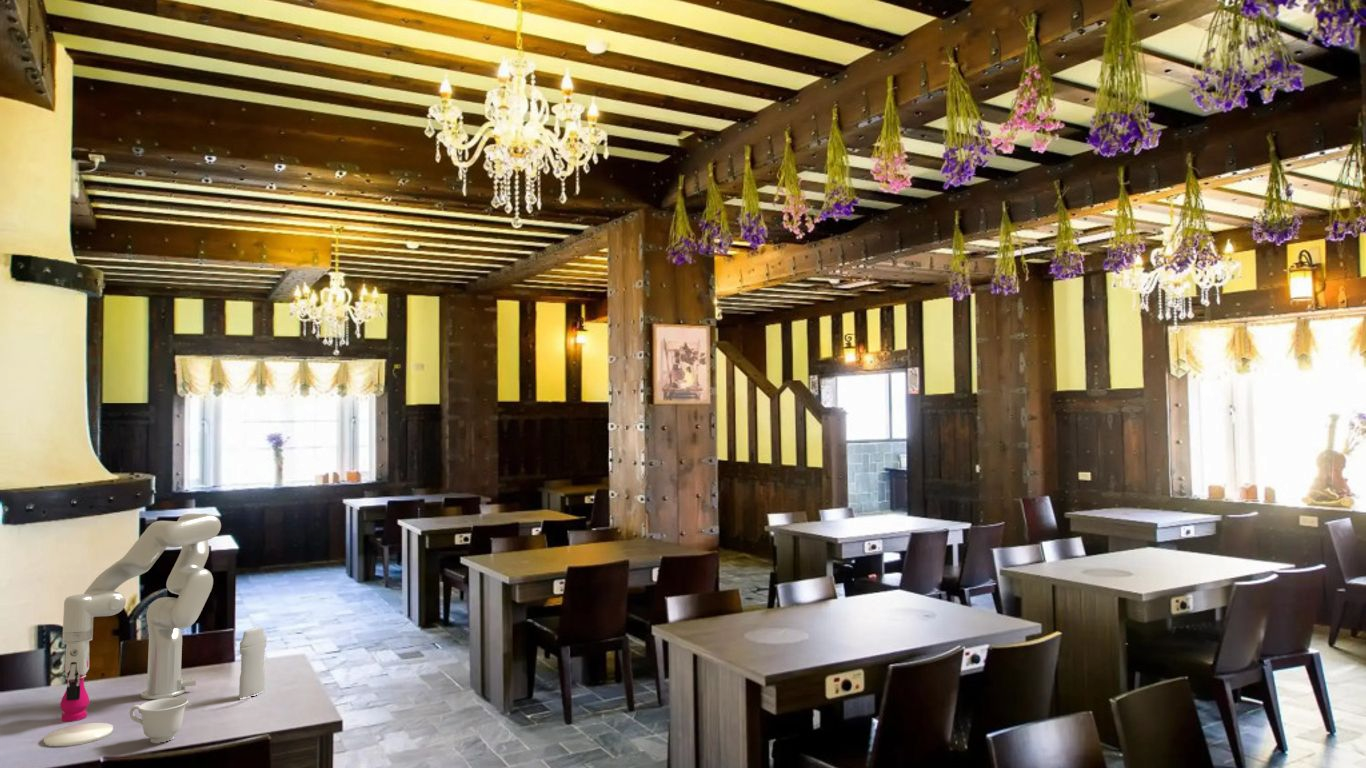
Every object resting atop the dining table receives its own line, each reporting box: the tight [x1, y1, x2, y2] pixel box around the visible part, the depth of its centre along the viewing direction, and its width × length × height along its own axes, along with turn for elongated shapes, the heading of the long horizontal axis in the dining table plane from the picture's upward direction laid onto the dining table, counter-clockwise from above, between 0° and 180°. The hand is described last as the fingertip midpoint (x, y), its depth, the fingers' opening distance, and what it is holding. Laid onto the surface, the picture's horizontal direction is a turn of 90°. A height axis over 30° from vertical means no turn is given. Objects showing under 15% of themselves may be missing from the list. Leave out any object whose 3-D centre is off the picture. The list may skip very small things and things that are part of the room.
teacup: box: [128, 696, 189, 744], centre depth 237 cm, size 12×15×10 cm
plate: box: [43, 722, 114, 747], centre depth 240 cm, size 16×16×1 cm
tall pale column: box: [238, 626, 267, 699], centre depth 278 cm, size 11×4×22 cm, turn 161°
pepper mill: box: [59, 661, 90, 723], centre depth 256 cm, size 7×7×20 cm
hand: (74, 696), depth 256 cm, fingers closed on pepper mill, 5 cm apart
